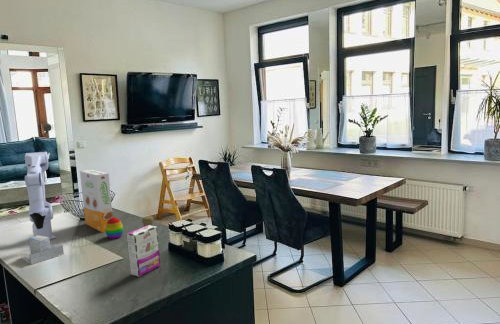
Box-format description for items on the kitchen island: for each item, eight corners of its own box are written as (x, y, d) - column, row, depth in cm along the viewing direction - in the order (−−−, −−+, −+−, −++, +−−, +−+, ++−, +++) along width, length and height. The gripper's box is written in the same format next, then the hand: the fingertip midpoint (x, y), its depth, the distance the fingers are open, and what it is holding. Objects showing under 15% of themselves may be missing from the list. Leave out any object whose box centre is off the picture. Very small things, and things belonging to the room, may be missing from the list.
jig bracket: (21, 258, 159) (19, 249, 158) (52, 248, 169) (51, 240, 168) (31, 264, 151) (30, 255, 151) (63, 254, 161) (62, 245, 161)
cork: (152, 241, 173) (150, 218, 172) (140, 240, 175) (138, 218, 173) (157, 236, 179) (156, 215, 178) (146, 236, 180) (144, 214, 179)
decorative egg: (126, 234, 185) (124, 214, 184) (119, 239, 177) (117, 219, 176) (111, 234, 186) (109, 215, 185) (103, 239, 178) (101, 219, 177)
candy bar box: (152, 263, 148) (148, 224, 145) (161, 266, 145) (157, 226, 143) (129, 274, 138) (125, 233, 136) (138, 277, 136) (135, 235, 133)
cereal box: (113, 229, 193) (108, 173, 189) (102, 232, 189) (96, 175, 185) (96, 221, 209) (91, 169, 205) (85, 223, 205) (79, 170, 201)
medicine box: (52, 256, 160) (49, 237, 159) (42, 260, 156) (39, 240, 155) (40, 253, 163) (38, 234, 162) (30, 257, 160) (28, 238, 158)
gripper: (20, 199, 168) (24, 228, 170) (33, 203, 159) (36, 233, 161) (37, 196, 174) (40, 224, 175) (50, 200, 164) (53, 229, 166)
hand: (39, 228), depth 169 cm, fingers closed
